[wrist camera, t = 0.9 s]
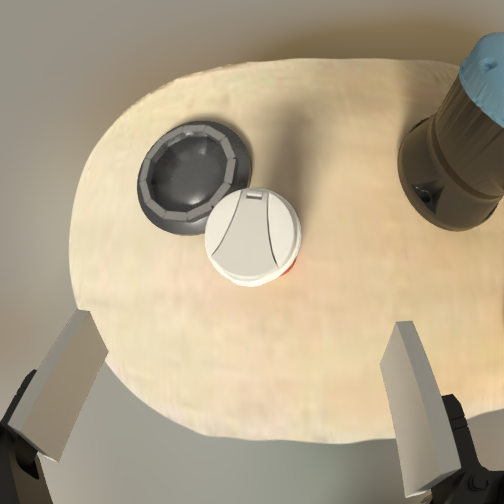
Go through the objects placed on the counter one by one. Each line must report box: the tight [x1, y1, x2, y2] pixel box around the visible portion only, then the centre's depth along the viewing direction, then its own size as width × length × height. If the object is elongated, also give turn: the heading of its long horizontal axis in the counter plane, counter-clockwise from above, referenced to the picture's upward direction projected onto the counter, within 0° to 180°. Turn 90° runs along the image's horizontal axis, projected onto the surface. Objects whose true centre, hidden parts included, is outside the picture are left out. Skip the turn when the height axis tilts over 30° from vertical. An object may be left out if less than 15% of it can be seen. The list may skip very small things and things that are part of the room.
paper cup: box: [205, 188, 301, 287], centre depth 29 cm, size 8×8×14 cm
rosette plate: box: [137, 121, 251, 236], centre depth 38 cm, size 16×16×3 cm
